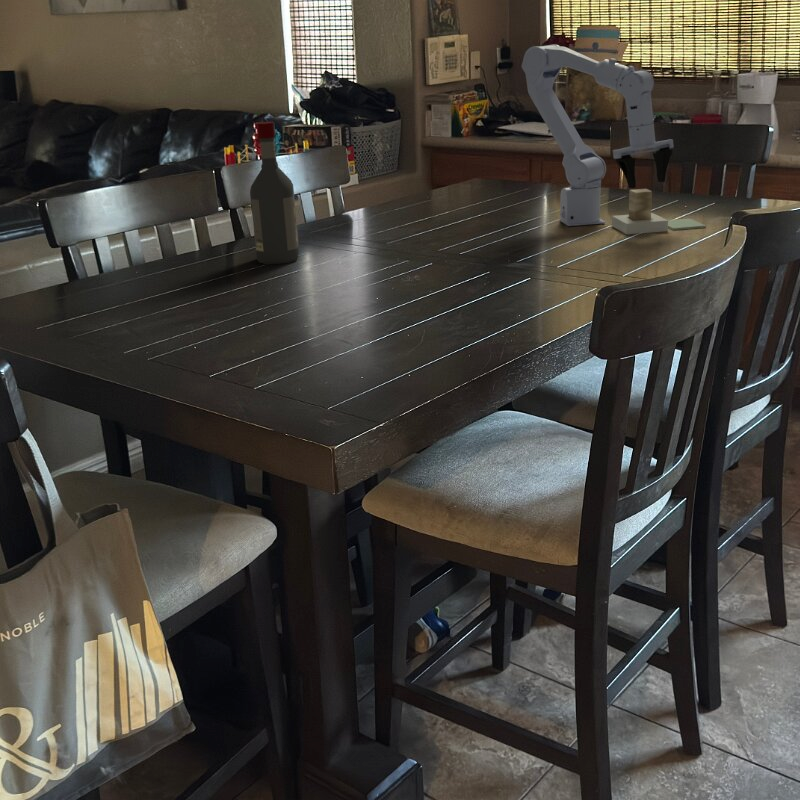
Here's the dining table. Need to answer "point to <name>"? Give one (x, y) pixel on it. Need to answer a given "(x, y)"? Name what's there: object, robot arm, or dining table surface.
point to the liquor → (273, 206)
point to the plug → (640, 204)
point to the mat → (684, 224)
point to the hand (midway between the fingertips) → (647, 184)
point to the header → (639, 224)
